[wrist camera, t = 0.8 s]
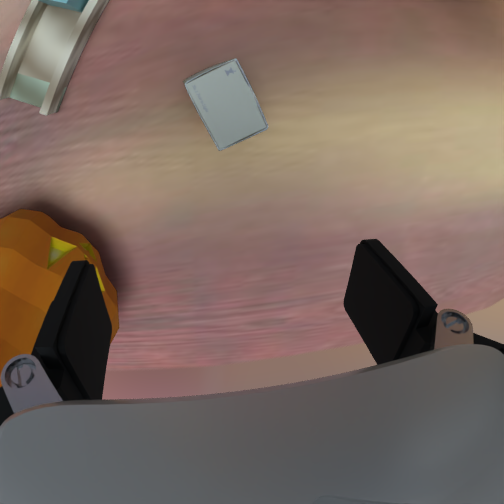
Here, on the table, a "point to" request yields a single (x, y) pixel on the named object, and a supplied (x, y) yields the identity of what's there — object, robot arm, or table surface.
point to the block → (68, 4)
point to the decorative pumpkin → (38, 277)
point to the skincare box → (226, 103)
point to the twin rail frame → (47, 53)
